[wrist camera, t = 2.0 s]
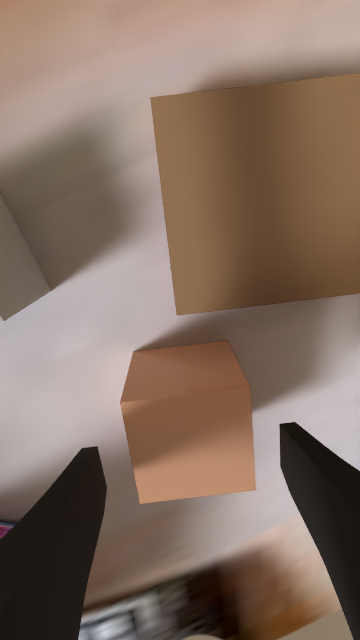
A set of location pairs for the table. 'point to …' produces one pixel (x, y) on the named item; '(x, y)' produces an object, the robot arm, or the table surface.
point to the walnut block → (261, 192)
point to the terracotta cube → (188, 422)
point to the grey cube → (17, 268)
